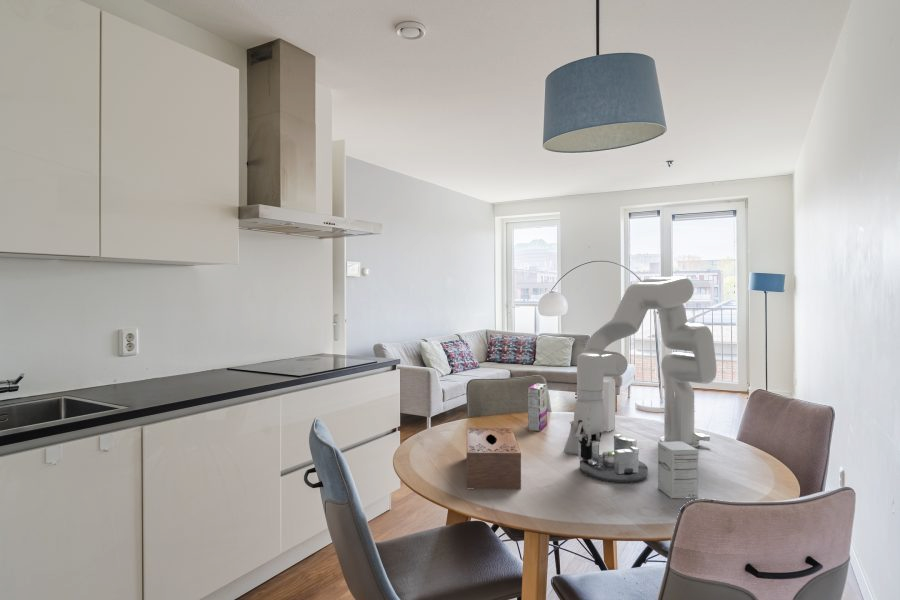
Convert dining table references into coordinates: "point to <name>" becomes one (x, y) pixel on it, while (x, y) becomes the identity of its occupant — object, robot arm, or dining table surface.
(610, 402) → the milk
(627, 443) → the knob
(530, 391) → the candy bar box
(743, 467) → the dining table surface
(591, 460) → the knob front
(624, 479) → the levelling plate
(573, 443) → the flask
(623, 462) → the knob
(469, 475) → the tissue box cover
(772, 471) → the dining table surface
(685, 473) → the supplement box
